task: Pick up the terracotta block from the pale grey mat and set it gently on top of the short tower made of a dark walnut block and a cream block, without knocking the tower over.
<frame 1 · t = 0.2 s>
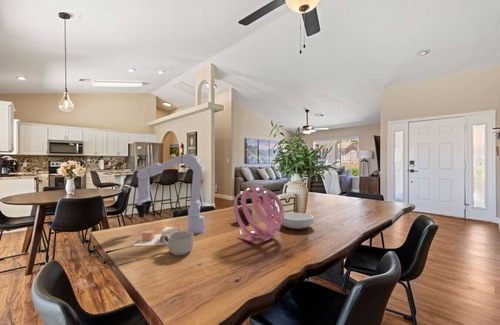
hand: (144, 215, 131), 10 cm above the table, tool pointing down, fingers open, 7 cm apart
teacup: (177, 252, 105), on the table
terracotta block: (148, 239, 120), resting on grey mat
cream block: (170, 234, 121), point 3 cm above the table, touching walnut base block
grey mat: (160, 240, 121), on the table
serving bowl: (295, 227, 145), on the table
walnut base block: (170, 239, 121), resting on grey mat, touching cream block
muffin: (243, 222, 156), on the table
pink lattice sphere: (259, 239, 122), on the table
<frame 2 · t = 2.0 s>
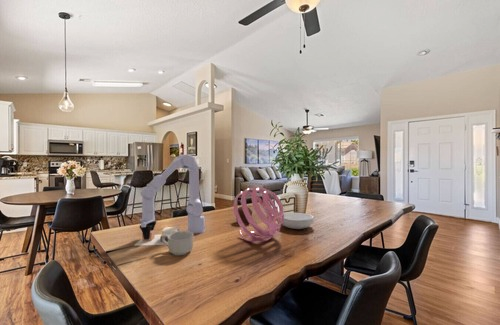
hand: (148, 237, 120), 1 cm above the table, tool pointing down, fingers closed on terracotta block, 4 cm apart
terracotta block: (148, 239, 120), resting on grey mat, touching gripper
everything else where it was.
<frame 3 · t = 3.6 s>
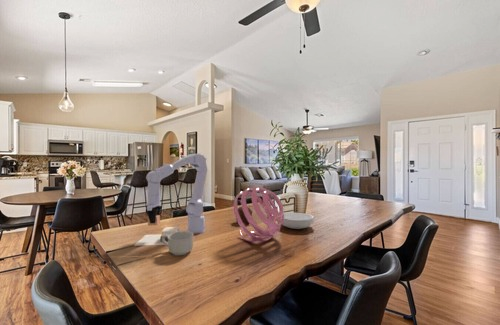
hand: (154, 221, 121), 9 cm above the table, tool pointing down, fingers closed on terracotta block, 4 cm apart
terracotta block: (153, 224, 121), point 8 cm above the table, touching gripper
everything else where it was.
when the fingers open (7 cm above the table, at t = 5.1 s): terracotta block stays where it is, resting on cream block.
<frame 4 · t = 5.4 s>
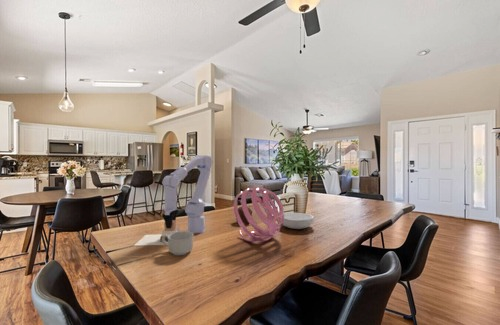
hand: (170, 226, 121), 7 cm above the table, tool pointing down, fingers open, 7 cm apart
terracotta block: (170, 229, 121), point 5 cm above the table, touching cream block
cream block: (170, 234, 121), point 3 cm above the table, touching terracotta block, walnut base block
everything else where it was.
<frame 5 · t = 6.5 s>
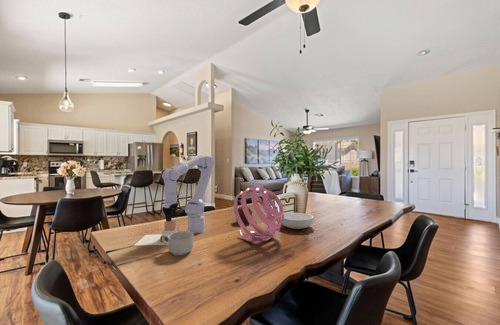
hand: (170, 219, 121), 10 cm above the table, tool pointing down, fingers open, 7 cm apart
nothing on the table moved.
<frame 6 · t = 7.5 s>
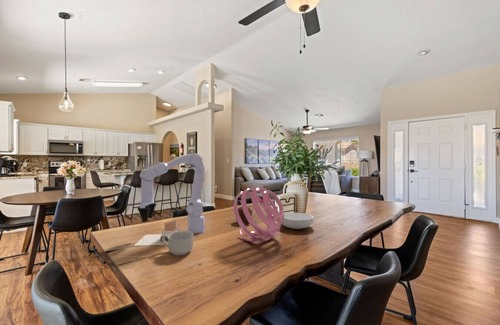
hand: (147, 219, 120), 10 cm above the table, tool pointing down, fingers open, 7 cm apart
nothing on the table moved.
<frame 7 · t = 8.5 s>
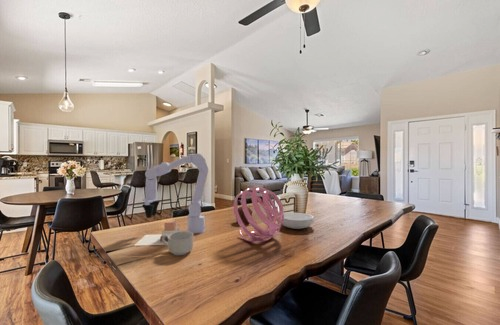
hand: (151, 216, 128), 10 cm above the table, tool pointing down, fingers open, 7 cm apart
nothing on the table moved.
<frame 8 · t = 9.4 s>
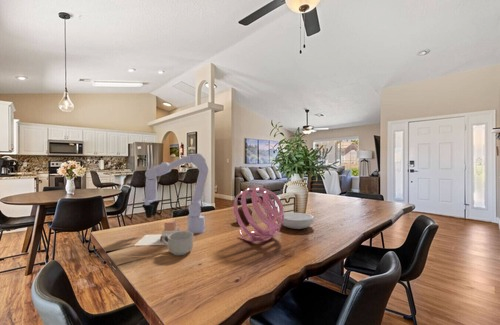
hand: (151, 216, 128), 10 cm above the table, tool pointing down, fingers open, 7 cm apart
nothing on the table moved.
at the end: terracotta block 0.3 cm off-centre on the cream block, point 2.5 cm above the cream block's base; cream block tilted 0°; cream block moved 0.0 cm from its start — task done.
